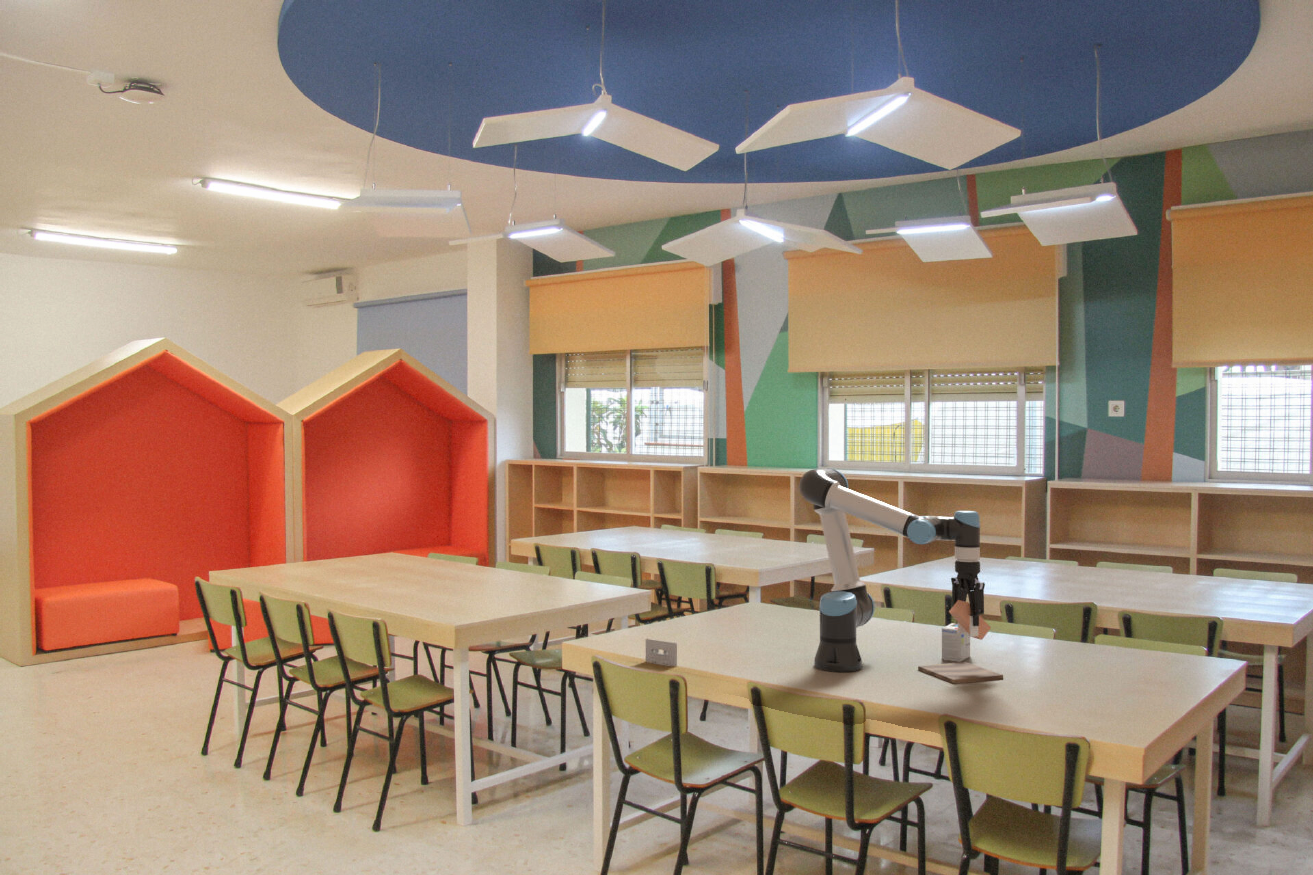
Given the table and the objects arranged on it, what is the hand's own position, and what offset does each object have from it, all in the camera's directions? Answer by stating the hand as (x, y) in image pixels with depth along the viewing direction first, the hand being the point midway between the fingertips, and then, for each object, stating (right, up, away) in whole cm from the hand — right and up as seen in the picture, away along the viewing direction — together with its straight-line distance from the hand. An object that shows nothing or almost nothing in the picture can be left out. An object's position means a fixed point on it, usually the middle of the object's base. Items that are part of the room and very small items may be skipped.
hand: (968, 634), depth 287 cm
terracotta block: (+5, 0, +2) cm, 5 cm away
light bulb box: (+3, -13, +21) cm, 25 cm away
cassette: (-96, -13, +12) cm, 98 cm away
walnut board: (-3, -12, -1) cm, 13 cm away
